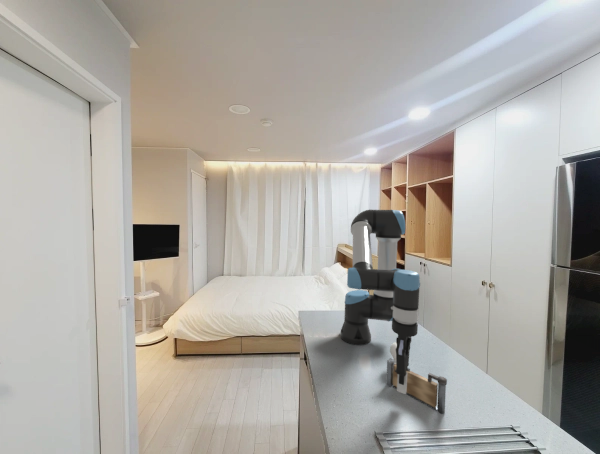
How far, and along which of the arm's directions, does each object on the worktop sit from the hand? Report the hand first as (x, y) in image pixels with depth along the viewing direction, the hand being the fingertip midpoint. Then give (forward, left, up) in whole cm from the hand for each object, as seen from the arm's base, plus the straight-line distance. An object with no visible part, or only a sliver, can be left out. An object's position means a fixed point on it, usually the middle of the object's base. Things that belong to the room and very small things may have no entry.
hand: (401, 391), depth 80 cm
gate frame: (+1, +7, -4) cm, 8 cm away
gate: (+3, +7, -4) cm, 8 cm away
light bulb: (-9, +18, -5) cm, 20 cm away
